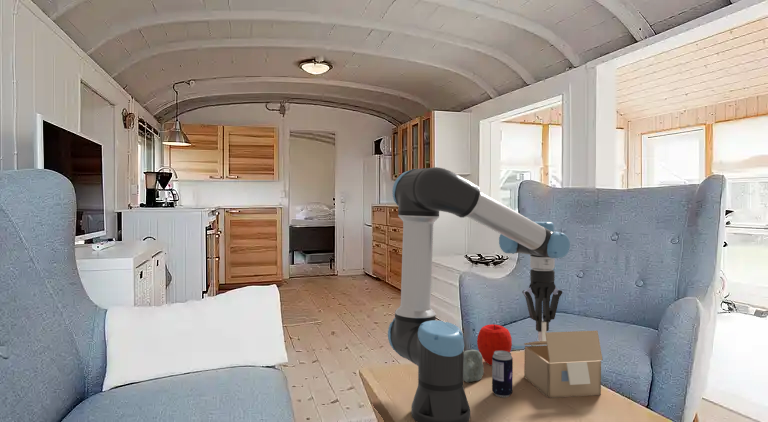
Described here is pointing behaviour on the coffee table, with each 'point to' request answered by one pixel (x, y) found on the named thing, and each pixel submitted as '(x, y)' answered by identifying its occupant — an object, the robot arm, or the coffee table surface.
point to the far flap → (536, 343)
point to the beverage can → (502, 373)
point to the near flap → (574, 352)
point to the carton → (558, 375)
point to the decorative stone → (472, 366)
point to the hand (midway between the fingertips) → (542, 340)
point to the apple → (493, 341)
